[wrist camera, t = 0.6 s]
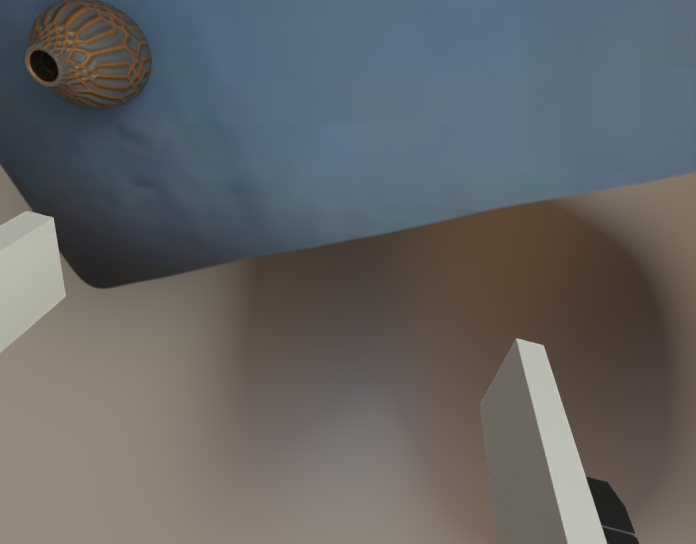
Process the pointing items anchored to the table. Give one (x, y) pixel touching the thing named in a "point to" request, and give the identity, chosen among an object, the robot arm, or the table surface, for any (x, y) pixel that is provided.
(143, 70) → the vase
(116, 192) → the table surface
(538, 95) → the table surface
